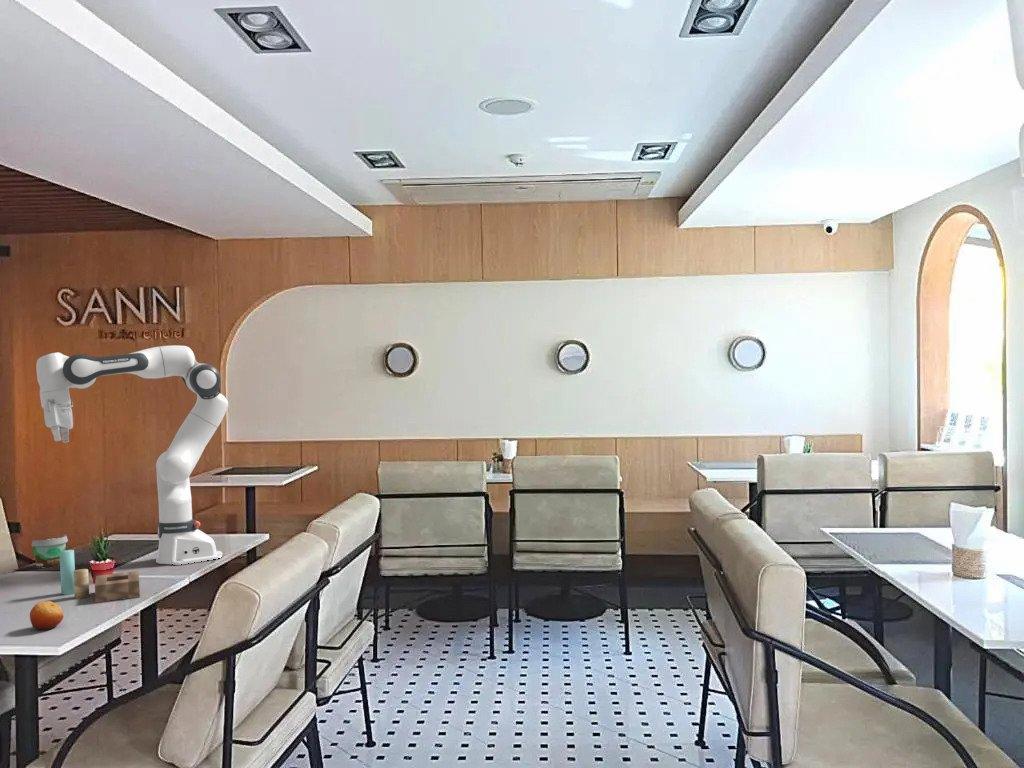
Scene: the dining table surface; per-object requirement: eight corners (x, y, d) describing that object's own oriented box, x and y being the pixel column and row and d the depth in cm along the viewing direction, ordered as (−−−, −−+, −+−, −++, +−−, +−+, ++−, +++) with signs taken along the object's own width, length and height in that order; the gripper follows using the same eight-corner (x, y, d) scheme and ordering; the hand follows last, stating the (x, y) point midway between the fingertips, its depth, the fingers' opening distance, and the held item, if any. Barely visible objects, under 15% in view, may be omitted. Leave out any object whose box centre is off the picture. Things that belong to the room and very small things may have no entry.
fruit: (30, 619, 237) (45, 593, 238) (57, 632, 238) (72, 607, 238) (16, 628, 229) (32, 601, 230) (44, 642, 230) (59, 615, 230)
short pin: (89, 594, 269) (88, 568, 268) (89, 597, 265) (87, 571, 265) (74, 596, 267) (73, 569, 267) (74, 599, 263) (73, 572, 263)
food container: (42, 570, 304) (41, 541, 304) (32, 568, 307) (31, 540, 307) (76, 563, 315) (74, 535, 314) (66, 561, 318) (65, 534, 318)
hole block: (139, 587, 276) (138, 571, 276) (139, 597, 263) (139, 580, 263) (96, 592, 271) (96, 575, 271) (95, 602, 258) (94, 585, 258)
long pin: (76, 590, 273) (74, 549, 273) (75, 593, 270) (73, 551, 270) (61, 592, 272) (60, 550, 272) (60, 595, 268) (59, 553, 268)
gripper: (57, 396, 286) (63, 438, 285) (73, 402, 305) (79, 441, 304) (36, 399, 284) (42, 441, 283) (54, 405, 304) (60, 444, 303)
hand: (62, 441), depth 294 cm, fingers open, 8 cm apart
